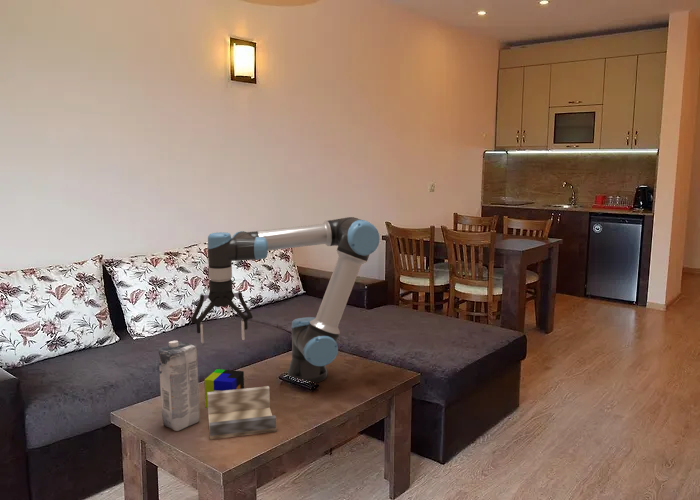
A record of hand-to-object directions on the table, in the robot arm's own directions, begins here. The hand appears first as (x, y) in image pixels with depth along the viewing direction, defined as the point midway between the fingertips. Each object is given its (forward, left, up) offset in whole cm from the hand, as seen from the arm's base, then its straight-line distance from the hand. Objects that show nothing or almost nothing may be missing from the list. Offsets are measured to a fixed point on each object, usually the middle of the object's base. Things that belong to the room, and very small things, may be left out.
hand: (222, 340), depth 198 cm
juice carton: (+14, +13, -23) cm, 30 cm away
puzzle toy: (0, 0, -23) cm, 23 cm away
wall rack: (-4, +17, -22) cm, 28 cm away
